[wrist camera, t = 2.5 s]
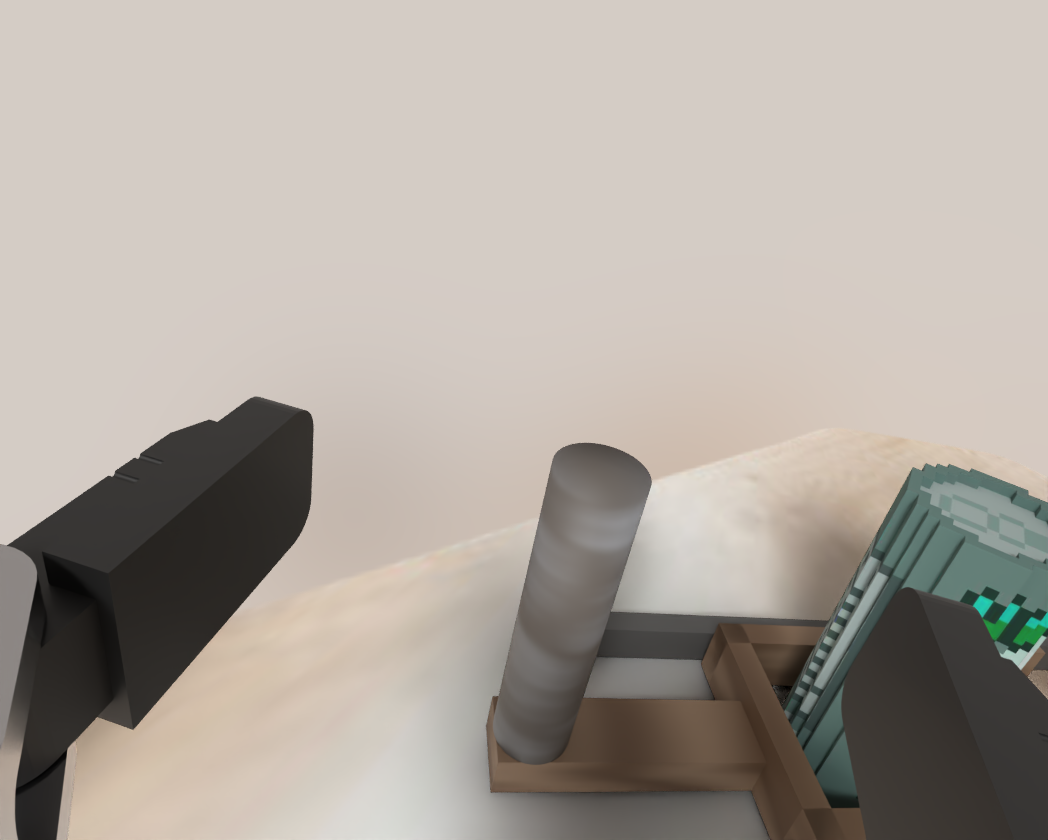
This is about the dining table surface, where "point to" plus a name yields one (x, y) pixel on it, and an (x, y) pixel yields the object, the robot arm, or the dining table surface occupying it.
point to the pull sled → (643, 724)
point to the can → (934, 567)
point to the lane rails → (687, 635)
